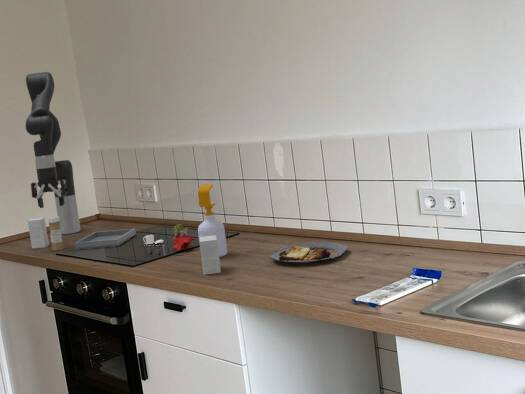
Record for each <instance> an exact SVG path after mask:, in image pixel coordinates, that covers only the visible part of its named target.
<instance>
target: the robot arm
mask: <svg viewBox="0 0 525 394" xmlns="http://www.w3.org/2000/svg"><path fill="white" fill-rule="evenodd" d="M25 83H26V88H27V92H28V95H29V98H30V101H31V107H30V108H31V109H30V110H31V111H30V113H29V115H28V117H27V118H26V120H25V130H26V132H27V133H28V134H29V135H31V136H39V138H40V139H39V140H37V141H34V143H33V151H34V158H35V159H34V163H35V171H36V176H37V181H38V182H34V181H33V182H31V183H30V190H31V198H33V199H36V200H37V205H38V207H39V208H40V209H43V208H44V207H45V206H44V199H43V198H42V197H43V196H44V194H45V193H52V192H53V193H54V194H53V195H54V201H55V207H56V214H57V216H59V218H60V228H61V233H62V235H69V234H76V233H78V232H81V231H82V230H81V222H80V216H79V210H78V209H79V208H78V204H77V203H78V202H77V196H76V190H75V181H74V180H75V179H74V172H73V169H74V168H73V165H72V162H71V161H70V160H69V159H63V160H55V156H54V153H55V150H56V148H57V146H58V144H59V142H60V139H61V138H62V137H61V135H62V131H61V128H60V123H59V118H57V117H56V115H54V113H53V112H51V110H50V106H51V102H52V99H53V96H54V91H55V81H54V77H53V75H52V73H51V72H49V71H44V72H35V73H29V74H27V75H26V76H25ZM59 186H61V187H59ZM38 187H39V188H40V189H39V190H38Z"/></svg>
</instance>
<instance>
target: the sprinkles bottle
mask: <svg viewBox="0 0 525 394" xmlns="http://www.w3.org/2000/svg"><path fill="white" fill-rule="evenodd" d="M47 222H48V226H49V227H48V228H49V235H50V241H51V246H52V251H54V252H55V251H61V250H64V248H65V247H64V244H63V234H62V233H61V228H60V218H59V216H58V215H57V216H50V217H47Z"/></svg>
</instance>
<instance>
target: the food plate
mask: <svg viewBox="0 0 525 394" xmlns="http://www.w3.org/2000/svg"><path fill="white" fill-rule="evenodd" d="M348 248H349V247H348V246H347V245H345V244H341V243H339V242H332V241H331V242H329V241H316V242H313V241H311V242H303V243H296V244H292V245H287V246H284V247H282V248H277V249H275V251H273V252H272V254H271V255H270V256H269V257H270V259H271V260H273V261H276V262H280V263H299V264H301V263H302V264H313V263H315V262H318V261H319V262H320V261H327V260H333V259H337V258H339V256H340V257H341V256H342V255H343V254H344V253H345V252H346V251H347V249H348ZM310 250H314V251H313V252H312V255H311V256H310V255H309V256H307V255H308V254H310V253H309V252H310ZM327 250H333V251H335V252H337V255H336V256H333V257H330V255H331V252H329V251H327ZM338 253H340V254H338ZM336 257H337V258H336ZM330 258H331V259H330Z"/></svg>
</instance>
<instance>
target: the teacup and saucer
mask: <svg viewBox="0 0 525 394" xmlns="http://www.w3.org/2000/svg"><path fill="white" fill-rule="evenodd" d="M142 240H143V242H144V244H146V245H147V244H153V243H155V244H157V243H161V244H163V243H164V239H158V240H156V241H155V237H154V234H148V235H145V236H144V237H143V238H142ZM155 244H153V245H155Z"/></svg>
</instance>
